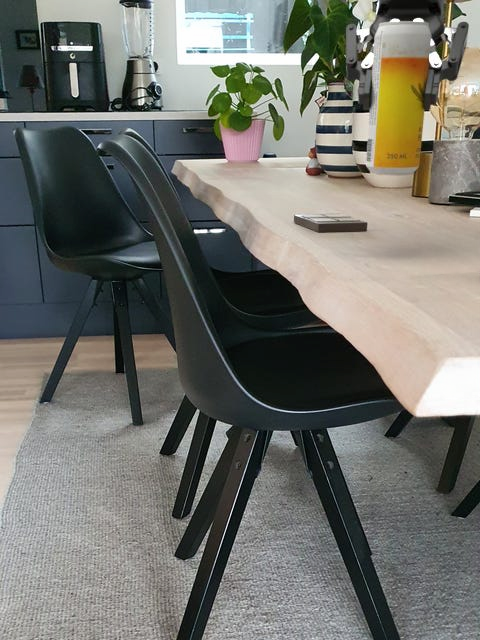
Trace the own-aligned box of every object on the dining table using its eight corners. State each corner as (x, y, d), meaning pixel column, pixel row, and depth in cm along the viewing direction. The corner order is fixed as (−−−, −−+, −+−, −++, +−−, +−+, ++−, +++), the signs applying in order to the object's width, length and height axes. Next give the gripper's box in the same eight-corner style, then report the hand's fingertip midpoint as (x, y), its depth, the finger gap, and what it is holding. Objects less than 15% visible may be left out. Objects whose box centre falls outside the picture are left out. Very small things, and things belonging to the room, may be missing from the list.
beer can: (427, 175, 91) (443, 21, 84) (379, 176, 89) (390, 20, 82) (403, 171, 96) (416, 26, 89) (357, 172, 94) (366, 25, 88)
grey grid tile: (293, 222, 124) (294, 213, 123) (339, 221, 126) (339, 212, 125) (318, 232, 115) (318, 222, 114) (367, 231, 116) (367, 221, 116)
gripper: (349, -39, 91) (329, 76, 86) (480, -44, 88) (467, 75, 83) (352, 20, 98) (333, 129, 93) (473, 17, 95) (460, 130, 90)
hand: (396, 103), depth 88 cm, fingers closed on beer can, 6 cm apart
